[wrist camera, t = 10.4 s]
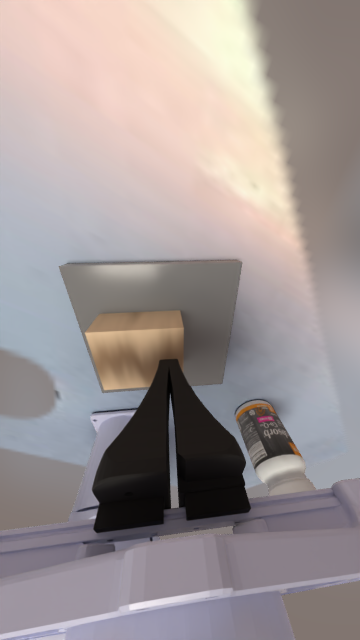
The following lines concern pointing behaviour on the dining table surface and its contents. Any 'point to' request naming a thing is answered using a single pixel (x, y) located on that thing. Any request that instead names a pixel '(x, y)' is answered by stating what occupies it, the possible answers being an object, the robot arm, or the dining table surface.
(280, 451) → the pill bottle
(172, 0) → the dining table surface
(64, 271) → the board
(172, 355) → the block
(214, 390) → the dining table surface
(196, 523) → the robot arm
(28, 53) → the dining table surface
